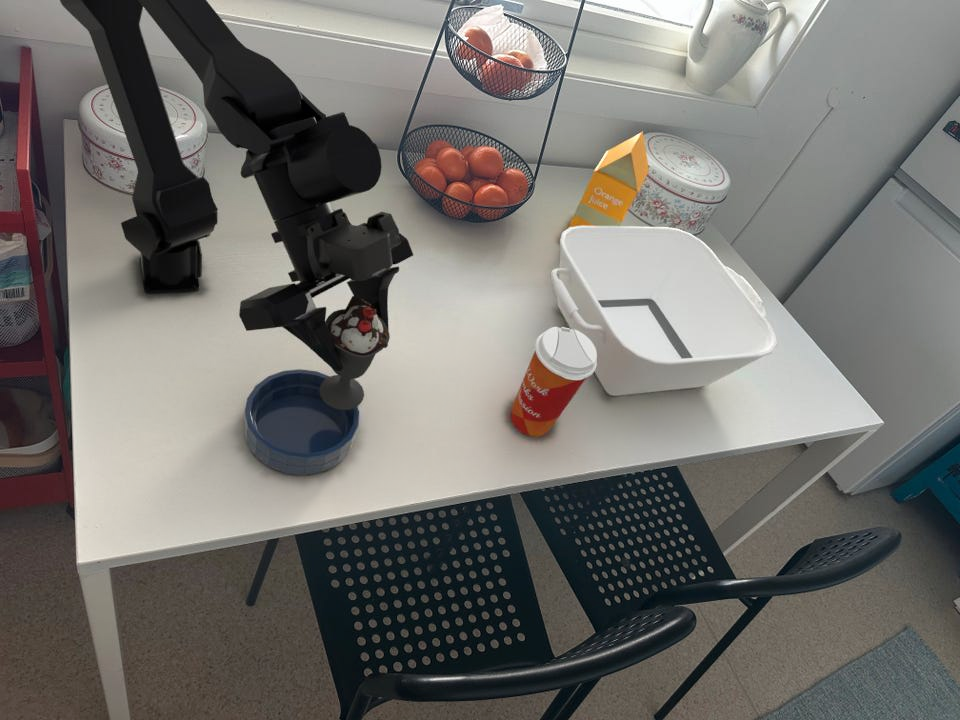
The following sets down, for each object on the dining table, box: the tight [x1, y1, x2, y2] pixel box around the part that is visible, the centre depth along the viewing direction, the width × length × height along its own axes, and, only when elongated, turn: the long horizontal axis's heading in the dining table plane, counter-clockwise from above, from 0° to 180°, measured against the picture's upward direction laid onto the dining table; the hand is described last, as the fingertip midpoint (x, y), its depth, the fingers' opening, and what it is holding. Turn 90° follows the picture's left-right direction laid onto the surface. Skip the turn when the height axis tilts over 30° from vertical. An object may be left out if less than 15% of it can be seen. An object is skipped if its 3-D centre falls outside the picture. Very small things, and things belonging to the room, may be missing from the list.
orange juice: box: [567, 130, 650, 229], centre depth 117 cm, size 8×9×20 cm
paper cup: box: [510, 326, 597, 437], centre depth 87 cm, size 8×8×14 cm
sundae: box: [319, 295, 391, 410], centre depth 74 cm, size 7×7×15 cm
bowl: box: [242, 368, 360, 476], centre depth 80 cm, size 12×12×4 cm
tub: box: [550, 225, 778, 398], centre depth 103 cm, size 34×27×13 cm
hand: (362, 355), depth 73 cm, fingers closed on sundae, 6 cm apart
